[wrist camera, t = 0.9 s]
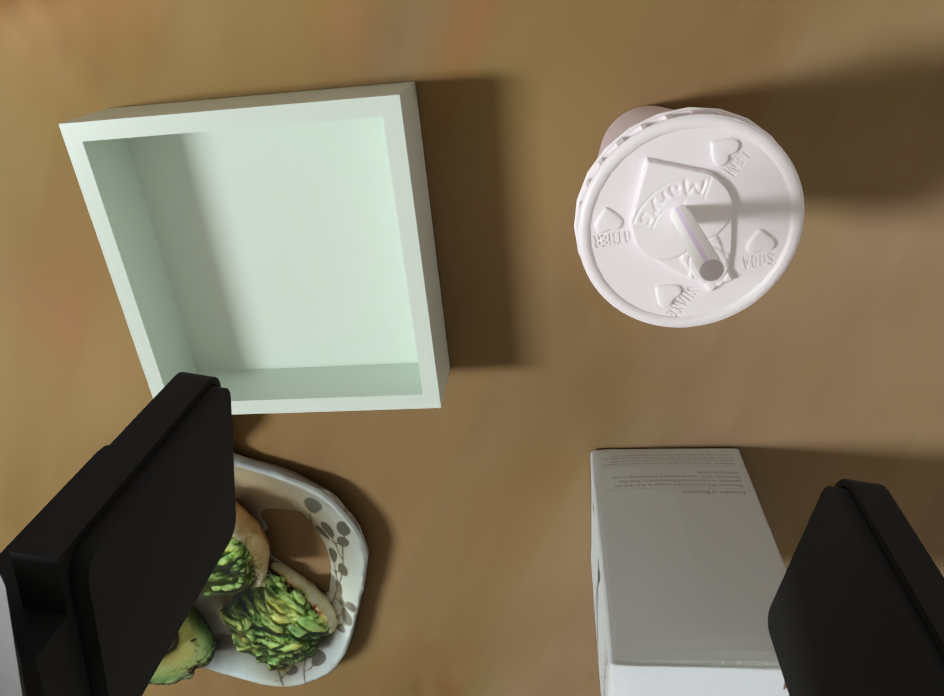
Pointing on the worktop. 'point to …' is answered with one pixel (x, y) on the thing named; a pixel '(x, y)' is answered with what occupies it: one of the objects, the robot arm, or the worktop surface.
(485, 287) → the worktop surface
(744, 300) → the smoothie
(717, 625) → the supplement box
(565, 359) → the worktop surface
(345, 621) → the avocado toast plate
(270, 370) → the bin
